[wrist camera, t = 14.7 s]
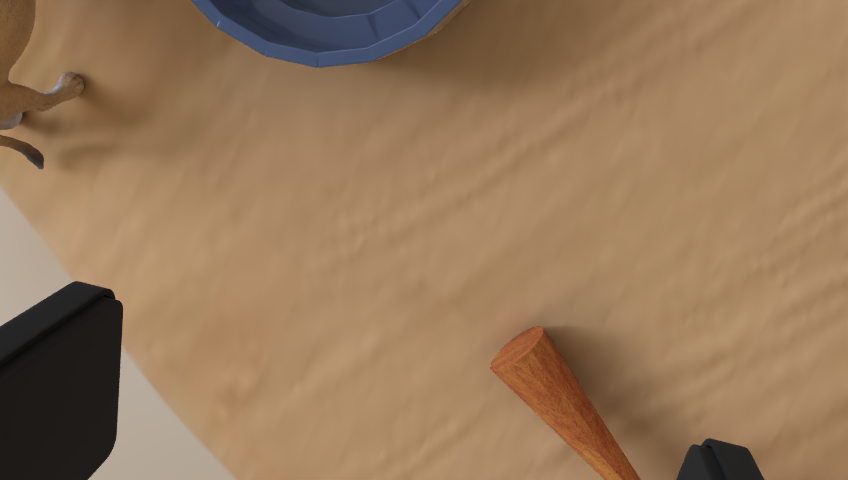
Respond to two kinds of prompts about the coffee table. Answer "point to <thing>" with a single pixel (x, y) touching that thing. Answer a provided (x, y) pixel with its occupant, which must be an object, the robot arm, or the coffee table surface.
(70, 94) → the tan animal figure
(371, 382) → the coffee table surface
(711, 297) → the coffee table surface
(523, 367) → the maraca
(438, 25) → the bowl
